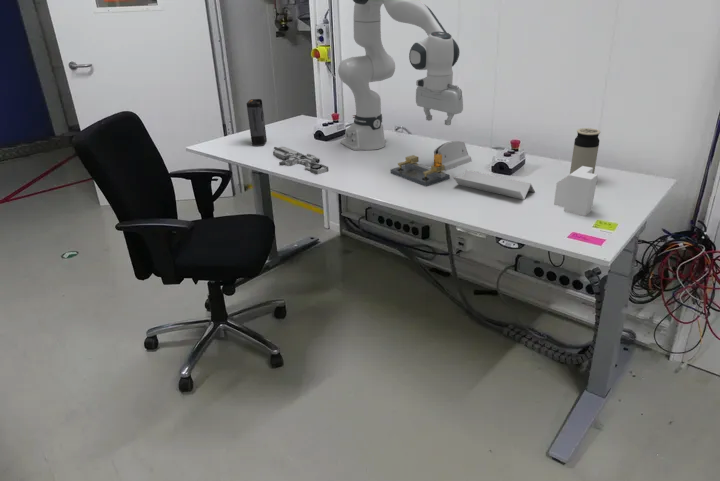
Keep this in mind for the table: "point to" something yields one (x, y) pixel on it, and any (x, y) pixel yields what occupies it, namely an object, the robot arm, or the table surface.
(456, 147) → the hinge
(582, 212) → the corner bracket
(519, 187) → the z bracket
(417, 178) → the bolt plate
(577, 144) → the travel mug
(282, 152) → the gun
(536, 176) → the table surface
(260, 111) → the electronic device
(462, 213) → the table surface
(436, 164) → the sliding leg
